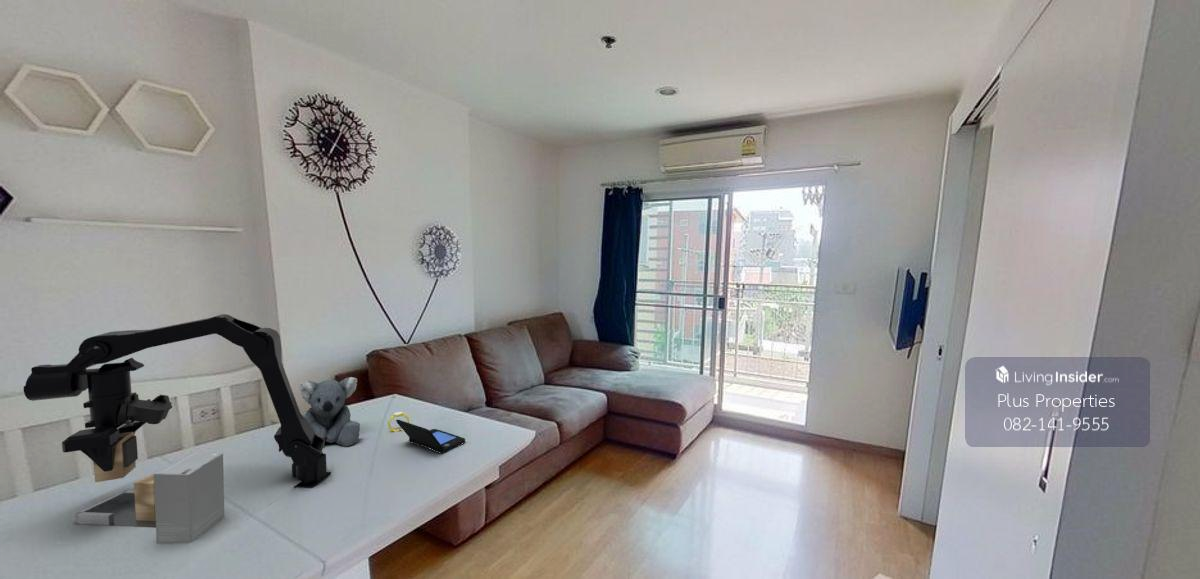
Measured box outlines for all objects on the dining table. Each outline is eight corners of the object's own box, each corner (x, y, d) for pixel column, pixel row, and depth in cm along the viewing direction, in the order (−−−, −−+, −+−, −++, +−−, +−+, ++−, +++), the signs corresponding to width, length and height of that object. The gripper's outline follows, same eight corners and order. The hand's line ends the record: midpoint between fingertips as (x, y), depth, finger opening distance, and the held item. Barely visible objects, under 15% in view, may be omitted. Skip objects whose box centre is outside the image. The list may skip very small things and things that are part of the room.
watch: (389, 434, 131) (387, 416, 131) (389, 431, 134) (387, 413, 133) (409, 430, 134) (407, 412, 133) (409, 427, 136) (408, 409, 135)
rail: (203, 508, 91) (202, 493, 91) (159, 534, 82) (158, 518, 82) (124, 505, 92) (123, 490, 91) (72, 531, 83) (71, 514, 83)
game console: (467, 443, 126) (467, 414, 125) (428, 461, 114) (428, 430, 113) (434, 431, 134) (434, 404, 133) (395, 448, 122) (394, 418, 121)
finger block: (139, 466, 90) (137, 431, 89) (127, 477, 85) (124, 440, 85) (109, 471, 88) (106, 435, 87) (95, 482, 83) (92, 444, 83)
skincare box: (193, 524, 86) (189, 451, 84) (229, 523, 86) (226, 450, 85) (152, 553, 77) (147, 472, 76) (193, 551, 78) (189, 471, 77)
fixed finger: (180, 506, 89) (178, 471, 88) (154, 521, 84) (152, 483, 83) (160, 505, 89) (158, 470, 89) (133, 520, 84) (130, 482, 84)
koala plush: (288, 458, 114) (285, 389, 113) (298, 434, 130) (296, 373, 128) (360, 445, 123) (358, 381, 121) (361, 424, 138) (359, 367, 137)
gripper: (141, 400, 81) (147, 476, 82) (182, 376, 97) (186, 440, 98) (56, 410, 76) (63, 491, 77) (114, 382, 92) (119, 449, 93)
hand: (115, 465), depth 86 cm, fingers closed on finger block, 5 cm apart
